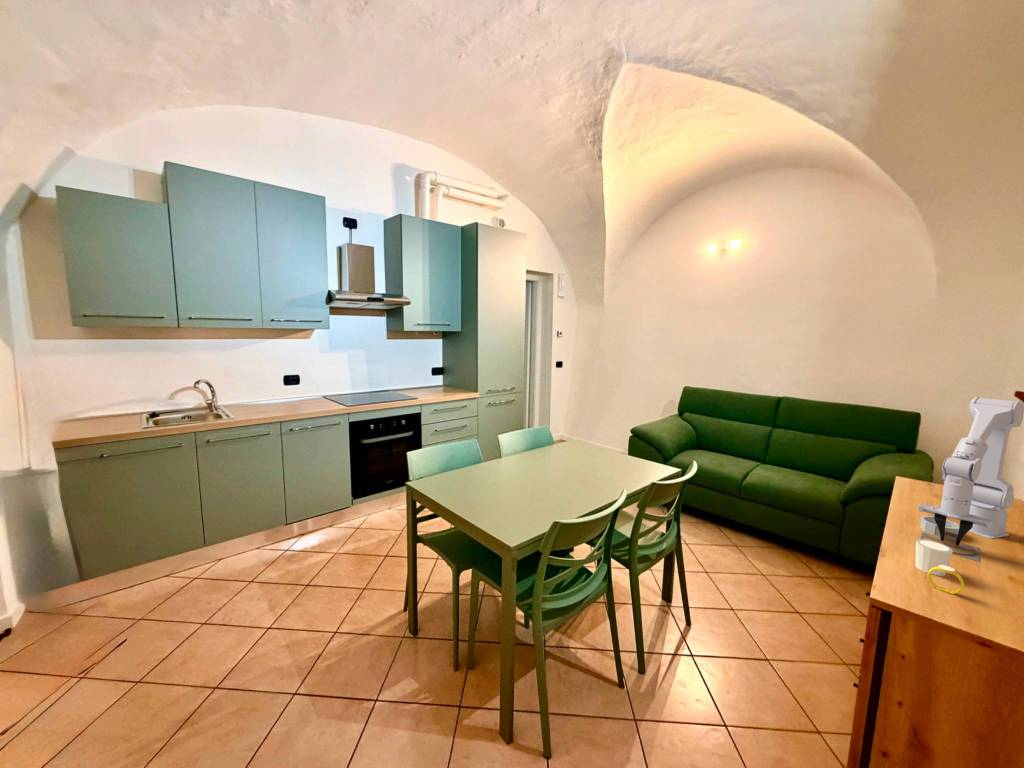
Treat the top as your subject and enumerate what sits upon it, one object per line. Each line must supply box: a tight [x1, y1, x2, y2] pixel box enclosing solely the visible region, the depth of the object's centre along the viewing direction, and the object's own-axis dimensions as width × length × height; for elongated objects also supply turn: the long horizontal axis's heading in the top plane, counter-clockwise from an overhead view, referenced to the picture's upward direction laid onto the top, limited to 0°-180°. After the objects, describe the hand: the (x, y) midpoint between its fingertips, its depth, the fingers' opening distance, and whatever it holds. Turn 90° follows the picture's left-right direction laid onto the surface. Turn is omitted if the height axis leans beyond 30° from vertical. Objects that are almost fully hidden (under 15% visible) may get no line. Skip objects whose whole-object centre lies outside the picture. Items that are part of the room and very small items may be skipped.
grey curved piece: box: [919, 515, 960, 536], centre depth 128 cm, size 9×9×4 cm
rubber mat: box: [919, 532, 981, 563], centre depth 119 cm, size 12×12×1 cm
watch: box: [927, 565, 965, 595], centre depth 98 cm, size 6×3×6 cm, turn 38°
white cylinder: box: [915, 538, 953, 577], centre depth 106 cm, size 7×7×7 cm
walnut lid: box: [924, 531, 976, 556], centre depth 119 cm, size 10×10×4 cm
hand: (949, 541), depth 119 cm, fingers closed on walnut lid, 2 cm apart
